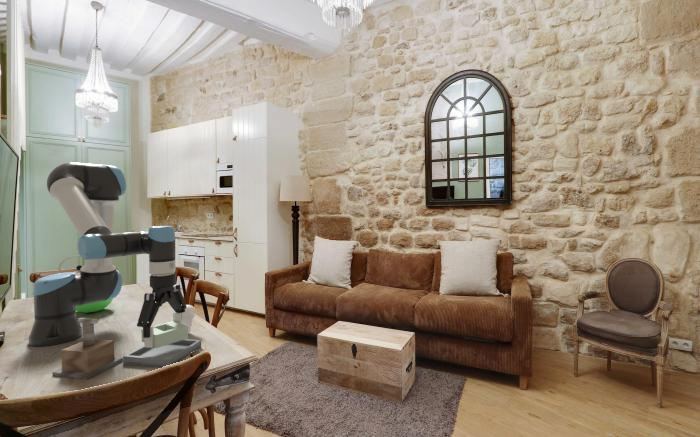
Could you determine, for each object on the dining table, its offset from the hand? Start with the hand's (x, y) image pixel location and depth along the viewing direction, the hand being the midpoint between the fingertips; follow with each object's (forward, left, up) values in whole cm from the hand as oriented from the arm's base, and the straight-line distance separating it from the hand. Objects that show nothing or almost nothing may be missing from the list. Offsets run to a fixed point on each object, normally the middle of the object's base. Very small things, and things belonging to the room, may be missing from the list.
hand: (164, 339), depth 115 cm
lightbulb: (-5, +19, -6) cm, 21 cm away
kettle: (-94, +58, -6) cm, 111 cm away
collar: (+1, 0, 0) cm, 1 cm away
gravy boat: (-66, +36, -6) cm, 75 cm away
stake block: (-16, -12, -5) cm, 21 cm away
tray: (0, 0, -5) cm, 5 cm away
